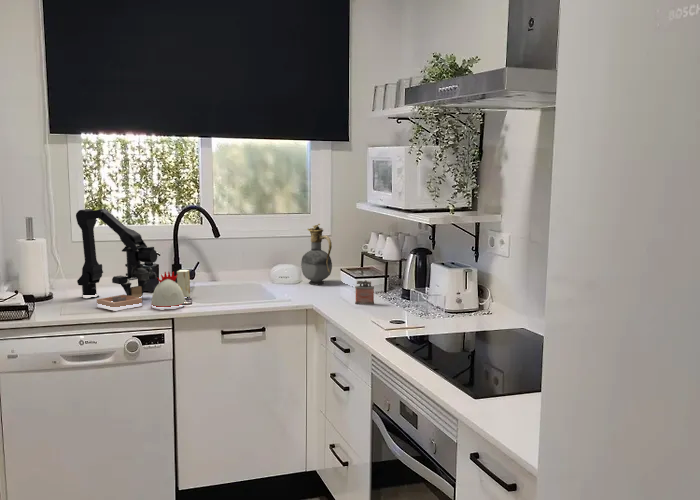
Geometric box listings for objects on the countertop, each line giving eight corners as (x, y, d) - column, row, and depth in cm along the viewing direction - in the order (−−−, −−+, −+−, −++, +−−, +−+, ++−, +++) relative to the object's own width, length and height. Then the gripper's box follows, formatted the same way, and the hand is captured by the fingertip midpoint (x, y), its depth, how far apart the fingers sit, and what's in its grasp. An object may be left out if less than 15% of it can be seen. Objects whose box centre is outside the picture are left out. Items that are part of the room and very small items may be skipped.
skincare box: (187, 298, 296) (186, 271, 295) (177, 298, 296) (176, 271, 295) (190, 295, 303) (189, 269, 301) (181, 296, 303) (180, 269, 301)
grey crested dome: (187, 308, 277) (186, 272, 275) (153, 311, 272) (151, 275, 270) (182, 302, 290) (181, 268, 288) (150, 304, 285) (148, 270, 283)
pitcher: (315, 280, 341) (314, 221, 337) (339, 285, 327) (339, 224, 323) (298, 283, 334) (297, 223, 330) (322, 288, 320) (321, 225, 316)
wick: (128, 300, 293) (128, 287, 292) (138, 299, 297) (138, 285, 296) (132, 301, 291) (131, 288, 290) (142, 299, 295) (141, 286, 294)
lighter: (374, 303, 285) (374, 280, 284) (373, 304, 282) (373, 281, 281) (355, 302, 286) (355, 279, 285) (354, 304, 283) (354, 281, 281)
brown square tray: (97, 307, 280) (96, 298, 279) (124, 302, 290) (124, 293, 289) (114, 311, 271) (114, 302, 271) (142, 306, 282) (141, 296, 281)
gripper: (125, 266, 279) (127, 302, 281) (162, 260, 294) (164, 295, 296) (110, 263, 286) (112, 299, 288) (147, 258, 301) (149, 292, 303)
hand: (135, 296), depth 294 cm, fingers open, 6 cm apart
